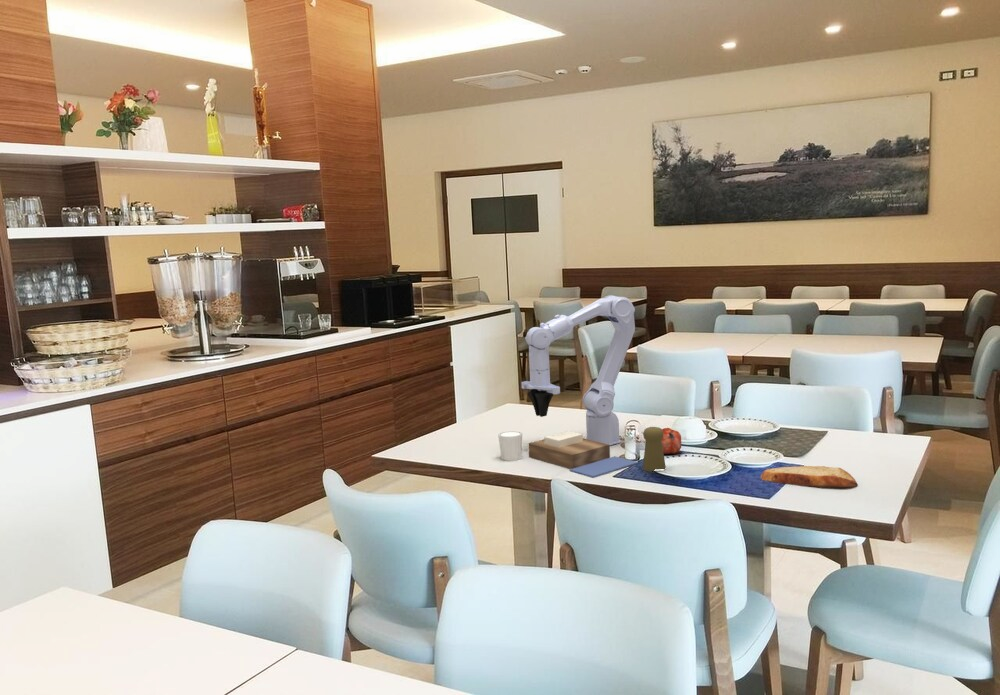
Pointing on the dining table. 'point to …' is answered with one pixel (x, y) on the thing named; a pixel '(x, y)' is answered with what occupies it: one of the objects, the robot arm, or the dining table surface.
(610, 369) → the robot arm
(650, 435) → the cork
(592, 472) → the mat
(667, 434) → the pomegranate
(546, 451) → the brown wooden slab
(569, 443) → the block
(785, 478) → the bread slice
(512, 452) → the white cup
